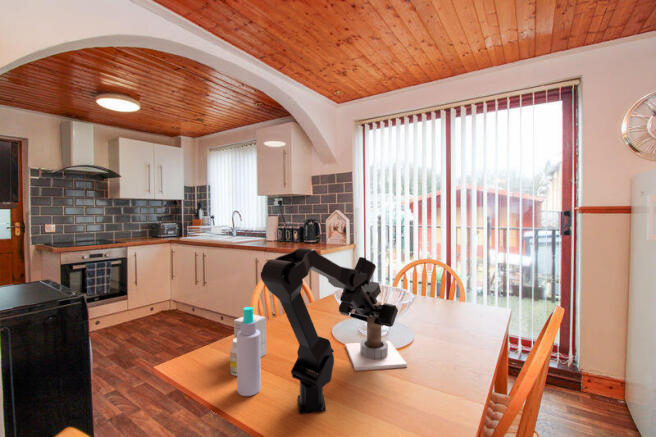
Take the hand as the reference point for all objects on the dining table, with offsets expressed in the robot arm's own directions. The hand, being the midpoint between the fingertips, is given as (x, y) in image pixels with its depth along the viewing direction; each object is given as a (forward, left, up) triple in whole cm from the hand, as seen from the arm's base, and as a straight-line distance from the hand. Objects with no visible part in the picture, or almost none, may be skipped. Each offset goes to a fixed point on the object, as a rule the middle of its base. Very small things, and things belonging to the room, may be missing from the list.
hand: (376, 322), depth 100 cm
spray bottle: (-15, +39, -11) cm, 43 cm away
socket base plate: (-1, +1, -11) cm, 11 cm away
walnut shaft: (-1, +1, -7) cm, 7 cm away
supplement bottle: (-5, +43, -11) cm, 45 cm away
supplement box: (+4, +41, -11) cm, 43 cm away
